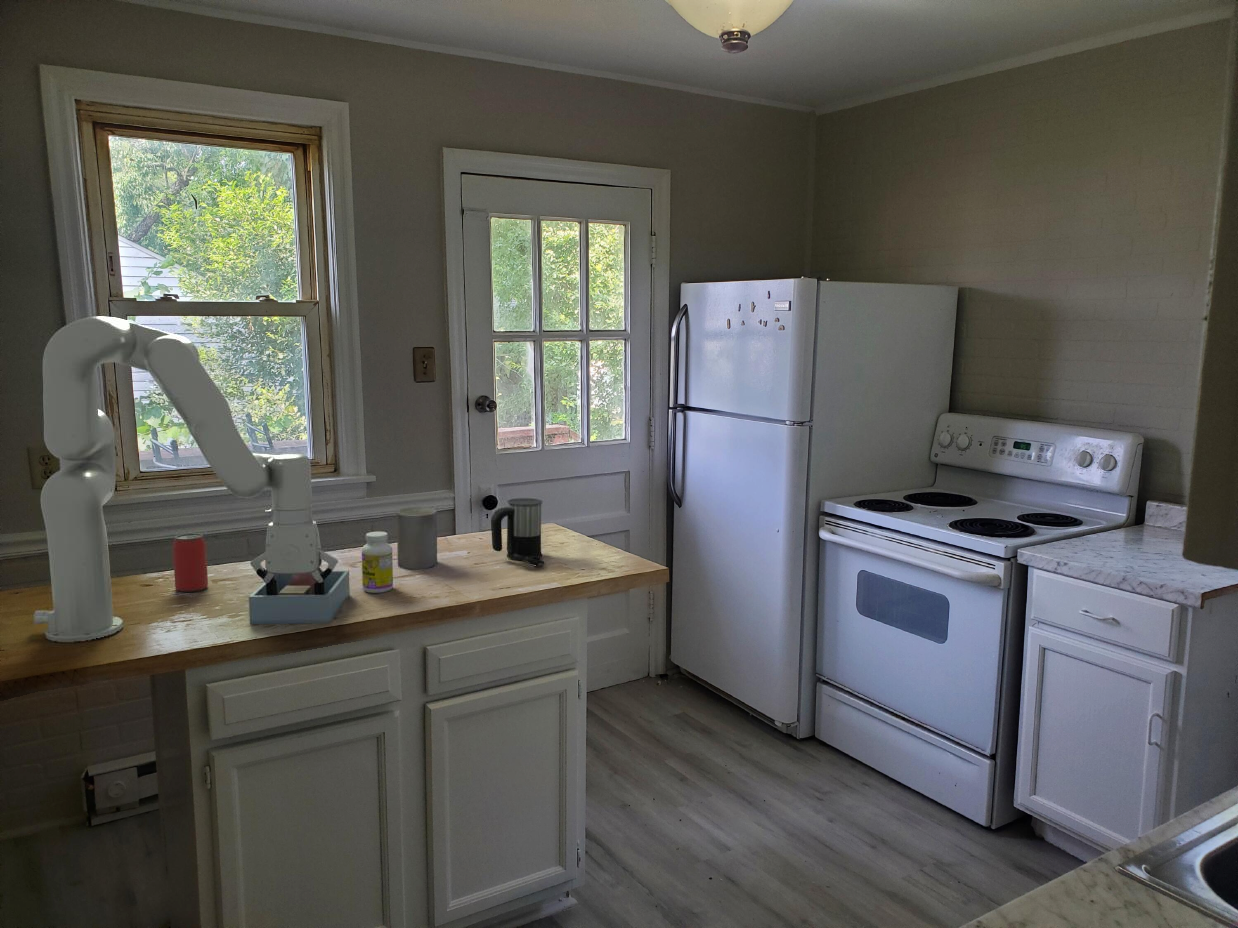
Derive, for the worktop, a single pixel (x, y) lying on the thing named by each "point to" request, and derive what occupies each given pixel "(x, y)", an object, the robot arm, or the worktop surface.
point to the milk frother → (519, 530)
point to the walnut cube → (296, 590)
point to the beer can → (190, 562)
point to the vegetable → (303, 581)
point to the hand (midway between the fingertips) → (296, 599)
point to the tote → (299, 602)
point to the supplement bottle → (377, 563)
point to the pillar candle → (416, 537)
